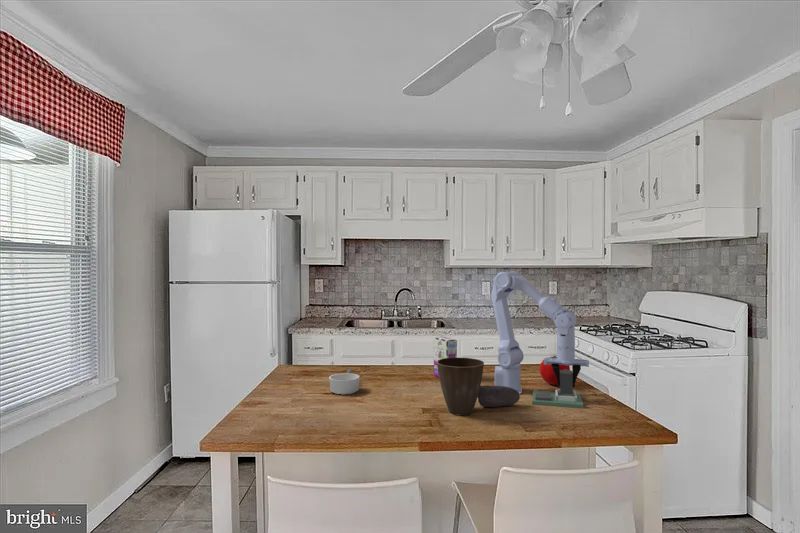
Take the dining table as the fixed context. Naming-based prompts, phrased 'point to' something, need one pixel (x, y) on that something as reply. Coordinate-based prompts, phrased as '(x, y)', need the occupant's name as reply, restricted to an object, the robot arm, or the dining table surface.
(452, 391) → the plant pot
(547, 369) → the tomato
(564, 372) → the plug
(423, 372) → the dining table surface
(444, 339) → the candy bar box
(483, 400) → the perforated stone tool
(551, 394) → the board
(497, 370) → the robot arm
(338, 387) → the saucepan
